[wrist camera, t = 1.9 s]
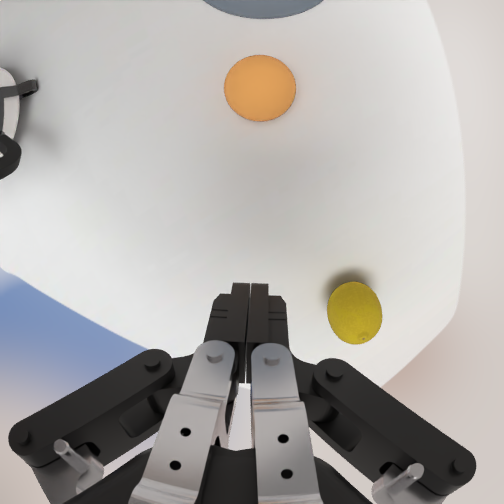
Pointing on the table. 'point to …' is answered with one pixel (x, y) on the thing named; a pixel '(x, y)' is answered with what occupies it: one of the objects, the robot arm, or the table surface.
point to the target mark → (263, 7)
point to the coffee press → (11, 119)
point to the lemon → (354, 313)
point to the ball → (260, 88)
